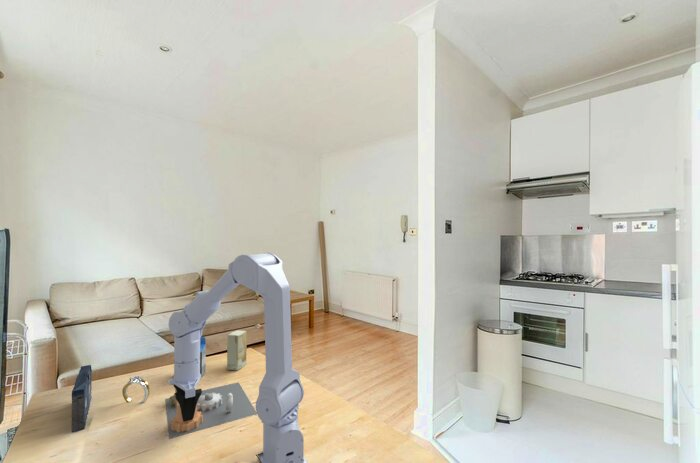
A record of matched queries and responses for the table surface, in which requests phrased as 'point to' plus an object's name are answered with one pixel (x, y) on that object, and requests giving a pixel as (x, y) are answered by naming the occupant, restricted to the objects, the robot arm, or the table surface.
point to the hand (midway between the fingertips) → (187, 414)
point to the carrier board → (214, 407)
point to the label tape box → (202, 355)
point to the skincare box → (236, 350)
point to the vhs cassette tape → (81, 398)
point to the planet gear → (183, 426)
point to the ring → (139, 381)
